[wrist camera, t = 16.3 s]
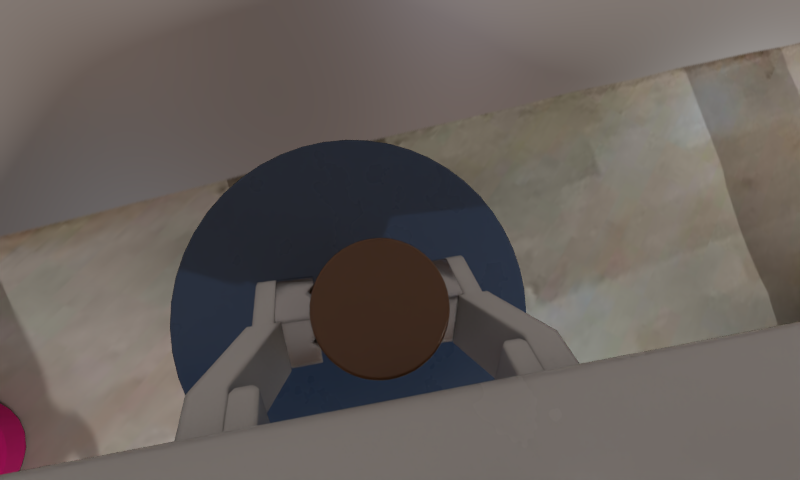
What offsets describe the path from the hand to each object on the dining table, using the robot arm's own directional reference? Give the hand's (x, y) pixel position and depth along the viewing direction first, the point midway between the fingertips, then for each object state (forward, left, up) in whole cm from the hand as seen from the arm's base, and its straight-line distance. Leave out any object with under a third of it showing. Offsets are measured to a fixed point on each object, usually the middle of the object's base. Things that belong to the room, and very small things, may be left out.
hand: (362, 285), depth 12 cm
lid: (0, +1, -4) cm, 4 cm away
